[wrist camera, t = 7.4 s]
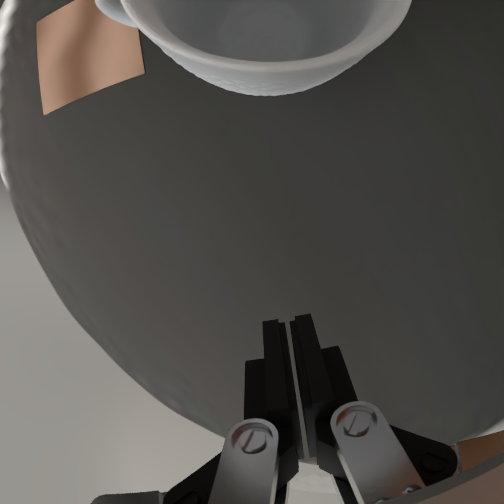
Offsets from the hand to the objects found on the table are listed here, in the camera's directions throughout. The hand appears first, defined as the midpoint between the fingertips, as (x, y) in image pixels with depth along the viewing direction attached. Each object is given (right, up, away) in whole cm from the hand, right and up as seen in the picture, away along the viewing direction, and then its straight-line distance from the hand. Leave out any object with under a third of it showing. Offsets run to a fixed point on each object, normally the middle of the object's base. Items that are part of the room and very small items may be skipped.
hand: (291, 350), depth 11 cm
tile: (-15, +21, +7) cm, 27 cm away
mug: (-2, +19, +8) cm, 21 cm away
